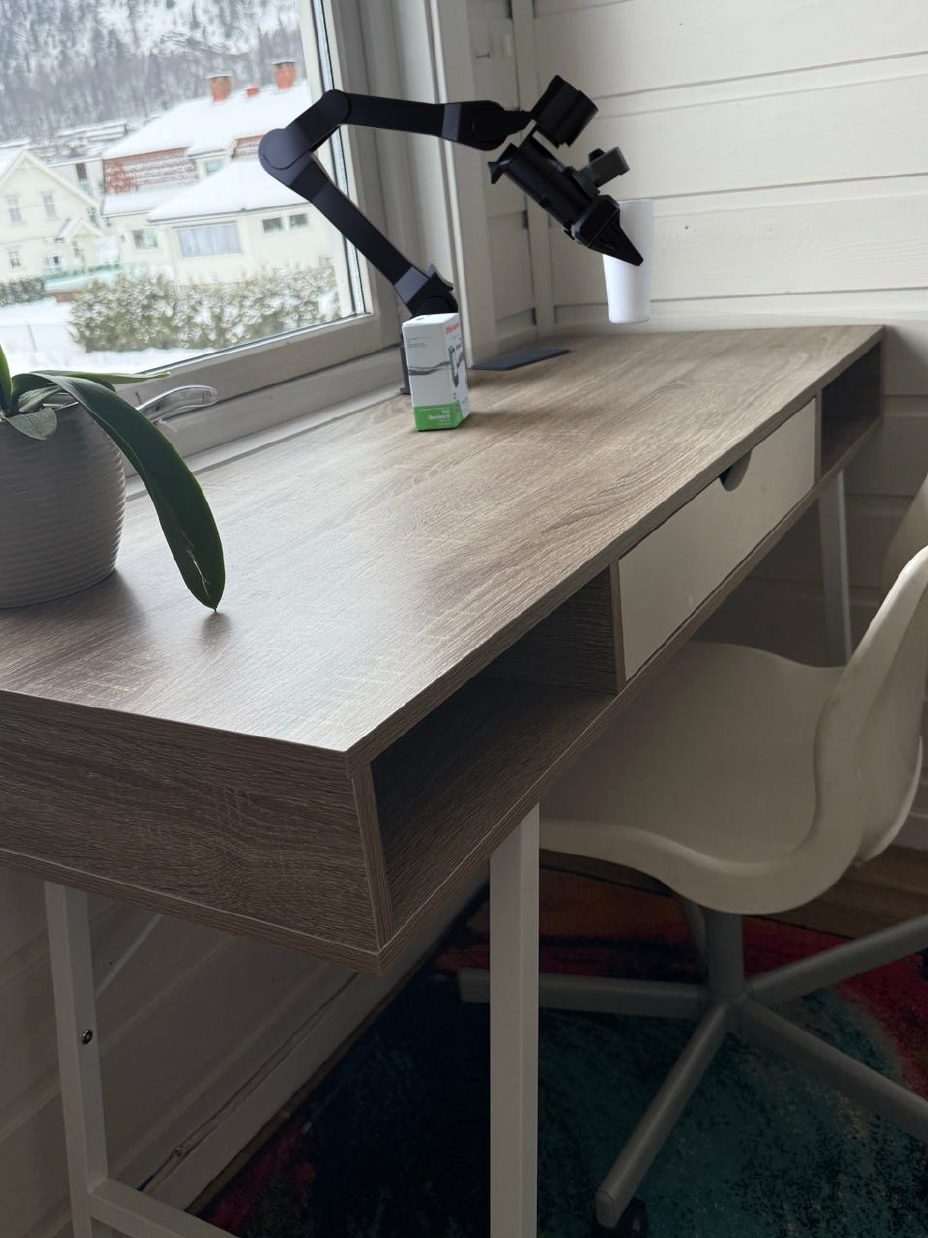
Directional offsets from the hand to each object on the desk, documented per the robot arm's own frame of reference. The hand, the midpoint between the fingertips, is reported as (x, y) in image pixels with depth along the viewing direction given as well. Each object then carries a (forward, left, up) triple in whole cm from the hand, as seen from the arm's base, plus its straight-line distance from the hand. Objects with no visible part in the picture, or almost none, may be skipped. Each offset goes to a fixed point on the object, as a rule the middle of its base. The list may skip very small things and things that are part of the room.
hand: (637, 261), depth 148 cm
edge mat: (-4, +23, -13) cm, 27 cm away
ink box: (-34, -5, -13) cm, 37 cm away
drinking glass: (-1, +1, -8) cm, 8 cm away
